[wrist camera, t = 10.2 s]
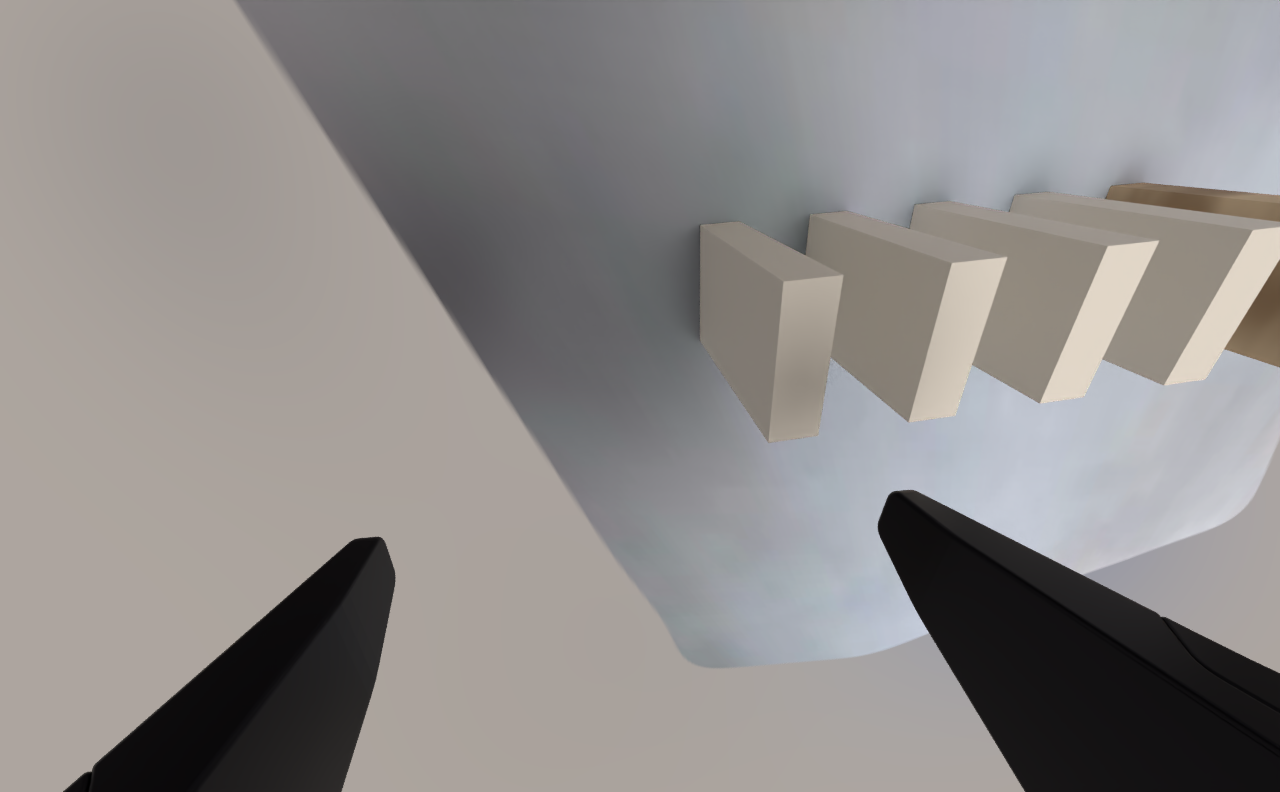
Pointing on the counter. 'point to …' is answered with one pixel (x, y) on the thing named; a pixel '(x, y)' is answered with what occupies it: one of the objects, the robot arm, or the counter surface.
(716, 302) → the domino
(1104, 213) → the domino
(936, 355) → the domino
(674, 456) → the counter surface
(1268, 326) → the maple domino
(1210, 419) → the counter surface
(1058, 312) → the domino
